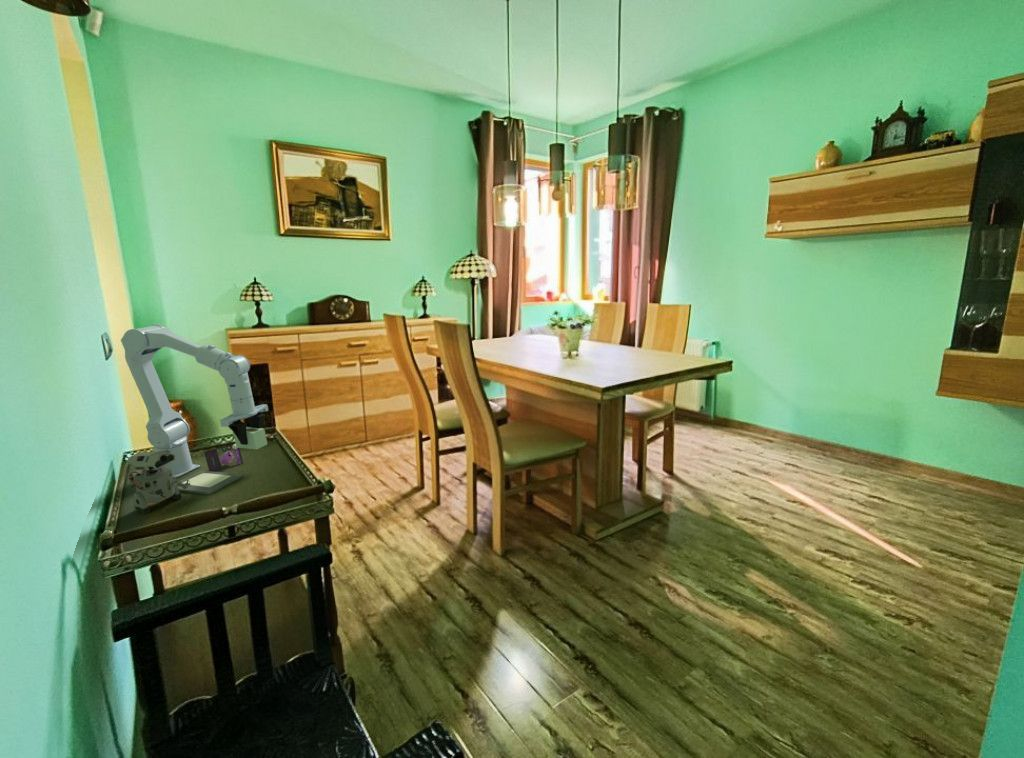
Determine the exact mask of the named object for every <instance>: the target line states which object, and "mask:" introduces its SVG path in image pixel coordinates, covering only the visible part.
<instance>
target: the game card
mask: <svg viewBox="0 0 1024 758" xmlns="http://www.w3.org/2000/svg"><path fill="white" fill-rule="evenodd" d="M232 449H233V450H234V451H230V450H232ZM218 450H221V451H222V452H224V453H223V454H221V457H220V456H219V452H218ZM203 453H204V457H205V461H206V464H207V468H208V471H213V472H221V471H223V470H227V469H230V468H233V466H234V467H237V466H241V465H243V464H244V460H243V456H242V453H241V448H238V447H236V443H235V442H234V443H231V444H228V445H224V446H221V447H216V448H213V449H209V450H205V451H203ZM233 453H235V454H233ZM234 457H236V463H235V464H234V465H231V466H230V465H229V466H227V467H223V465H228V464H231V463H232V462H233V461H234ZM240 464H241V465H240Z"/></svg>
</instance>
